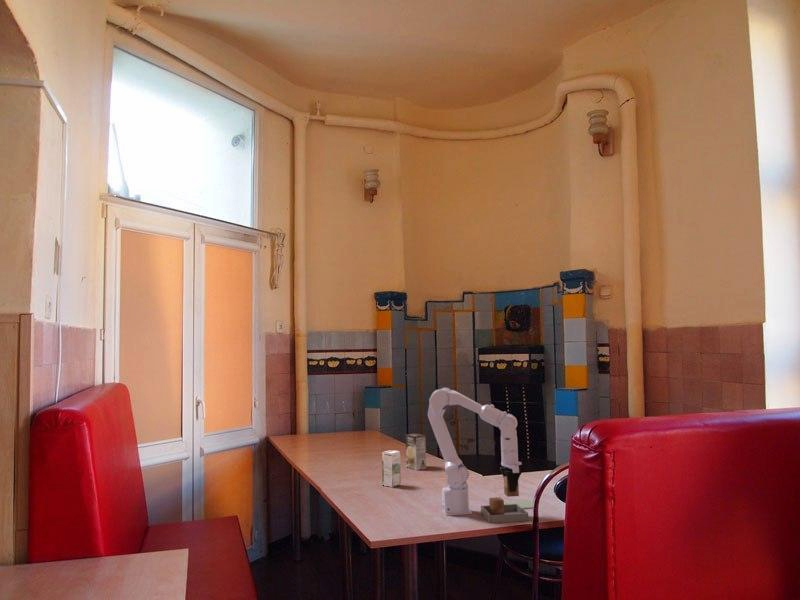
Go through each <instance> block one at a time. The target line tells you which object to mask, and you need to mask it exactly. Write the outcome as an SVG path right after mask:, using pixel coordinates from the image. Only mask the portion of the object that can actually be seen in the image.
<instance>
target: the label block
mask: <svg viewBox="0 0 800 600" xmlns="http://www.w3.org/2000/svg"><path fill="white" fill-rule="evenodd" d="M503 490H504V495H505V496H506V497H508V498H509V497H519V496H520V491H519V483H518V484H517V490H516V492H510V490H509V486H508V480H507V477H506V476H504V478H503Z"/></svg>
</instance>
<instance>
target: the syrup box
mask: <svg viewBox="0 0 800 600" xmlns="http://www.w3.org/2000/svg"><path fill="white" fill-rule="evenodd" d="M381 471H382V473H381V474H382V478H381V480H382V481H381V482H382V484H381V485H382V486H383V485H384V486H383V487H386V486H390V487H389V488H395V487H398V486H401V485H402V484H401V478H402V477H401V451H400V450H395V449H393V450H390V449H389V450H386V451H382V453H381ZM400 484H401V485H400ZM397 485H398V486H397ZM394 486H395V487H394Z"/></svg>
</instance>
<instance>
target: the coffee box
mask: <svg viewBox="0 0 800 600" xmlns="http://www.w3.org/2000/svg"><path fill="white" fill-rule="evenodd" d="M404 436H405V439H404V440H405V467H406V468H407V467H408V468H407V469H410V468H411V470H413V471H420V469H421V470H425V469H427V453H426V452H427V448H426V446H427V445H426V440H427V439H426V435H424V434H421V433H408V434H405V435H404Z"/></svg>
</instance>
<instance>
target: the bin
mask: <svg viewBox="0 0 800 600" xmlns="http://www.w3.org/2000/svg"><path fill="white" fill-rule="evenodd" d="M480 512H481V515H483V516H484V518H485V520H487V522H488V523H489V524H493V523H494V524H498V523H509V522H510V523H513V522H528V521H529V513H528V512H527V511H526V509H523V508H521V507H520V506H519V505H518V504H507V503H506V504H504V514H503V515H490V504H488V505H480Z"/></svg>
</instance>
